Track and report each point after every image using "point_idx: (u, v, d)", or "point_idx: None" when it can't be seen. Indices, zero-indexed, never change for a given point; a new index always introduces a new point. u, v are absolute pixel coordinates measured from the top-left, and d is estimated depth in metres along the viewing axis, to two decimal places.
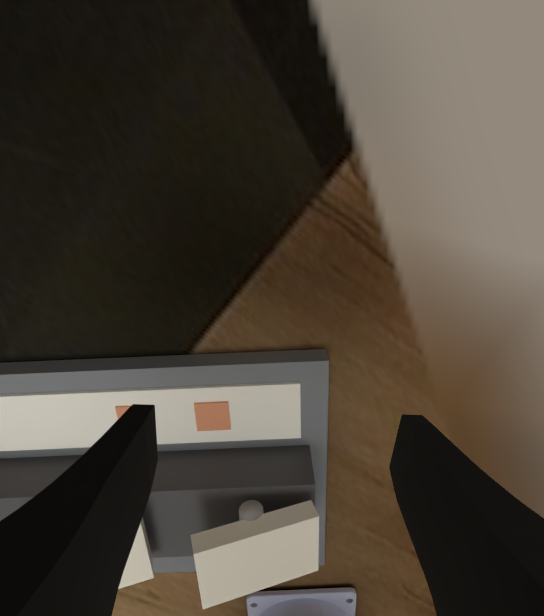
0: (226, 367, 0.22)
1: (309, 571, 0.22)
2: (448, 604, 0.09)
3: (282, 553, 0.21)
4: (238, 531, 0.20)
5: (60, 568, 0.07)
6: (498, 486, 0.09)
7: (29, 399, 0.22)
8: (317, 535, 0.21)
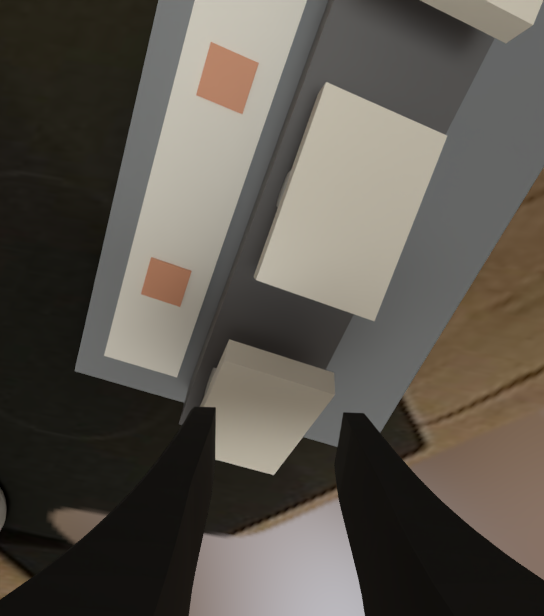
0: None
1: None
2: (372, 603, 0.09)
3: None
4: None
5: (170, 570, 0.07)
6: (421, 484, 0.09)
7: (149, 199, 0.17)
8: None
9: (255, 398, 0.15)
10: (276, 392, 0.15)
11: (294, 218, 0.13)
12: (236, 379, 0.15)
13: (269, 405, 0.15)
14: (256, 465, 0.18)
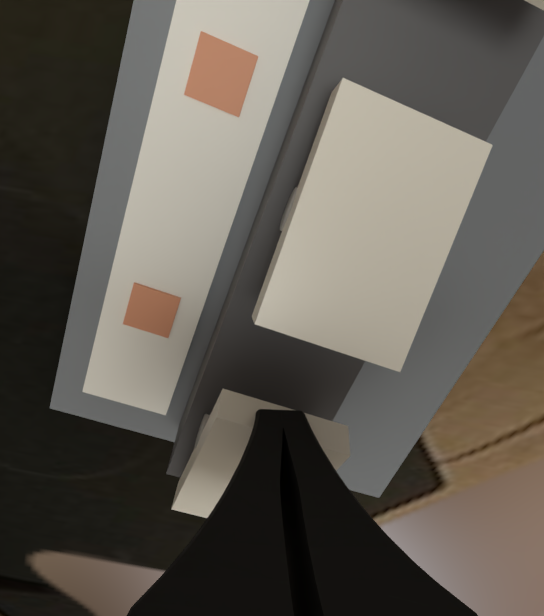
0: None
1: None
2: None
3: None
4: None
5: None
6: (338, 481, 0.09)
7: (131, 216, 0.15)
8: None
9: None
10: None
11: (302, 247, 0.10)
12: (231, 438, 0.12)
13: None
14: None
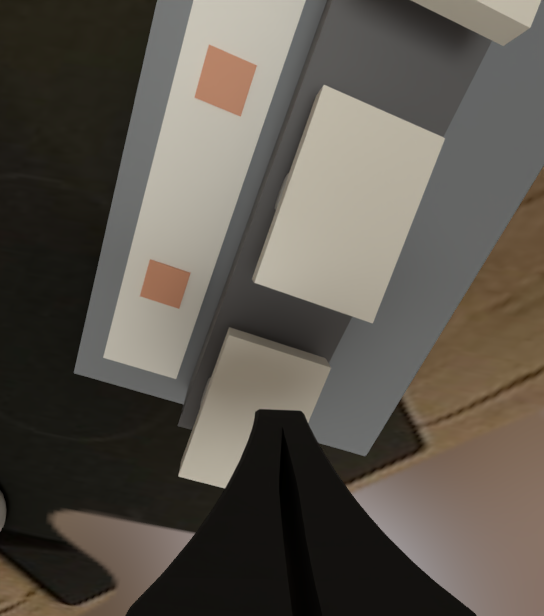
0: None
1: None
2: None
3: None
4: None
5: None
6: (337, 481, 0.09)
7: (148, 201, 0.17)
8: None
9: (257, 382, 0.16)
10: (277, 371, 0.16)
11: (292, 220, 0.13)
12: (239, 359, 0.15)
13: (270, 390, 0.16)
14: None
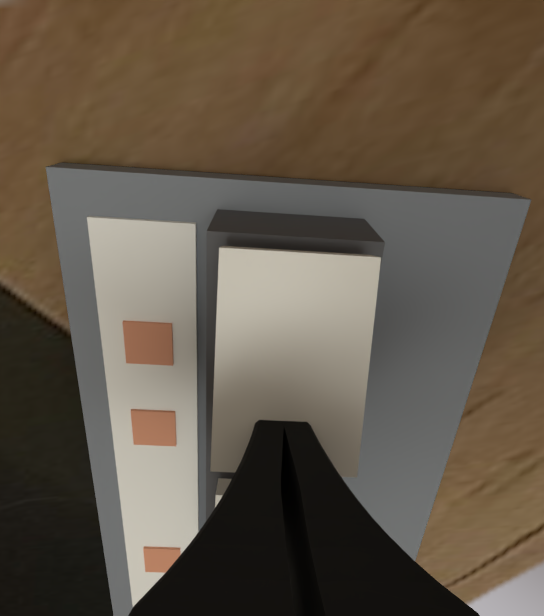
0: (72, 313, 0.16)
1: (372, 276, 0.11)
2: None
3: (285, 326, 0.11)
4: None
5: None
6: (339, 481, 0.09)
7: (126, 512, 0.20)
8: (272, 253, 0.10)
9: None
10: None
11: None
12: None
13: None
14: None
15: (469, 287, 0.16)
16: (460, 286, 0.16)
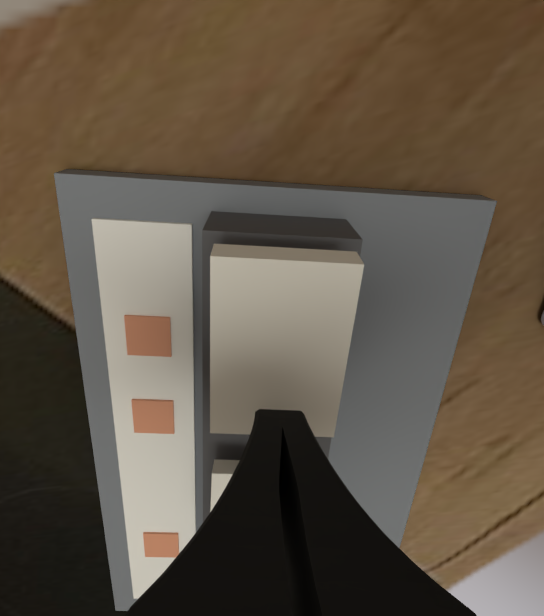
0: (77, 308, 0.17)
1: (355, 281, 0.11)
2: None
3: (274, 323, 0.12)
4: None
5: None
6: (337, 481, 0.09)
7: (127, 499, 0.21)
8: (261, 261, 0.11)
9: None
10: None
11: None
12: None
13: None
14: None
15: (444, 281, 0.17)
16: (435, 280, 0.17)
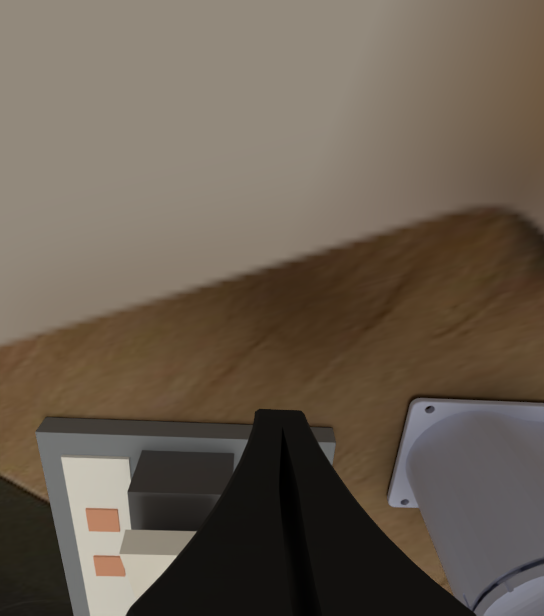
0: (53, 503, 0.25)
1: None
2: None
3: None
4: None
5: None
6: (337, 481, 0.09)
7: (93, 615, 0.29)
8: (151, 555, 0.18)
9: None
10: None
11: None
12: None
13: None
14: None
15: None
16: None
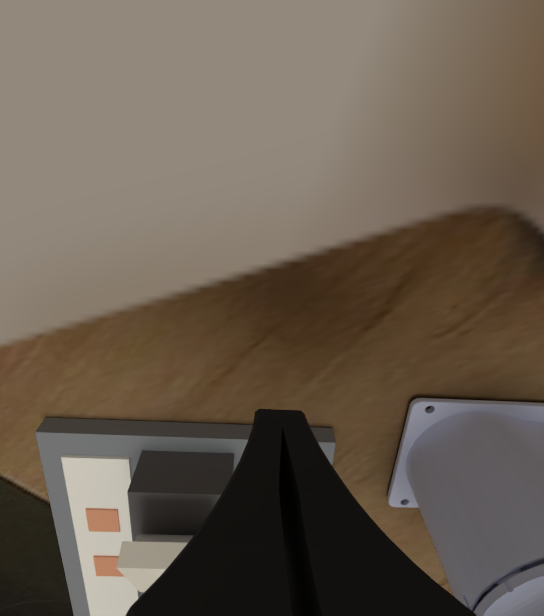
0: (53, 503, 0.25)
1: None
2: None
3: None
4: None
5: None
6: (337, 481, 0.09)
7: (93, 615, 0.29)
8: (148, 568, 0.18)
9: None
10: None
11: None
12: None
13: None
14: None
15: None
16: None
